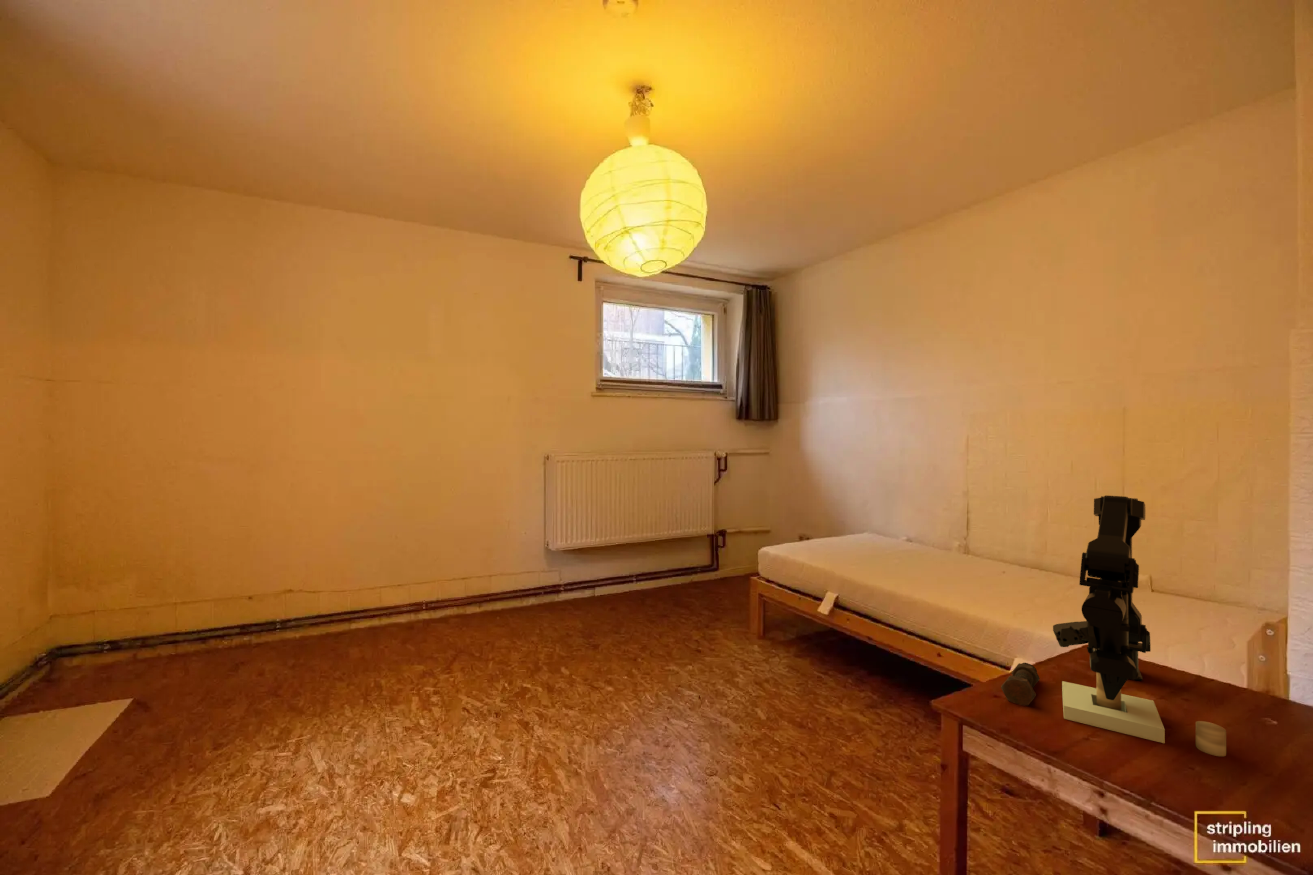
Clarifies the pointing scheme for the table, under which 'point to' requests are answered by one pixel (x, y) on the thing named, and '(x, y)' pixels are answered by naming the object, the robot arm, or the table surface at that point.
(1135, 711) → the board
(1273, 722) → the table surface
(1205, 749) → the short pin
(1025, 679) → the bolt
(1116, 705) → the long pin
